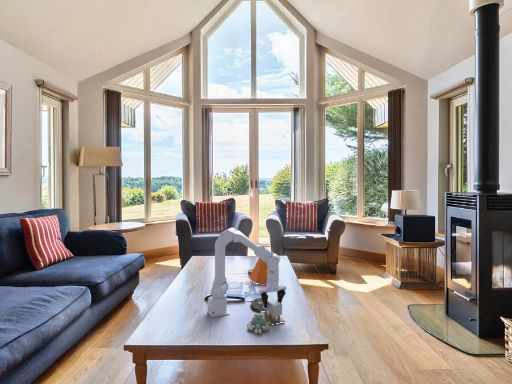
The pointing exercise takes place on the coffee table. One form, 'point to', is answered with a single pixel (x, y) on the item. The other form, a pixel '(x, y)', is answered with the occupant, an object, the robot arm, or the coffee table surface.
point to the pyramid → (259, 272)
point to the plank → (273, 307)
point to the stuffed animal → (258, 324)
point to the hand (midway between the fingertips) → (272, 306)
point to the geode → (257, 305)
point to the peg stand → (272, 318)
